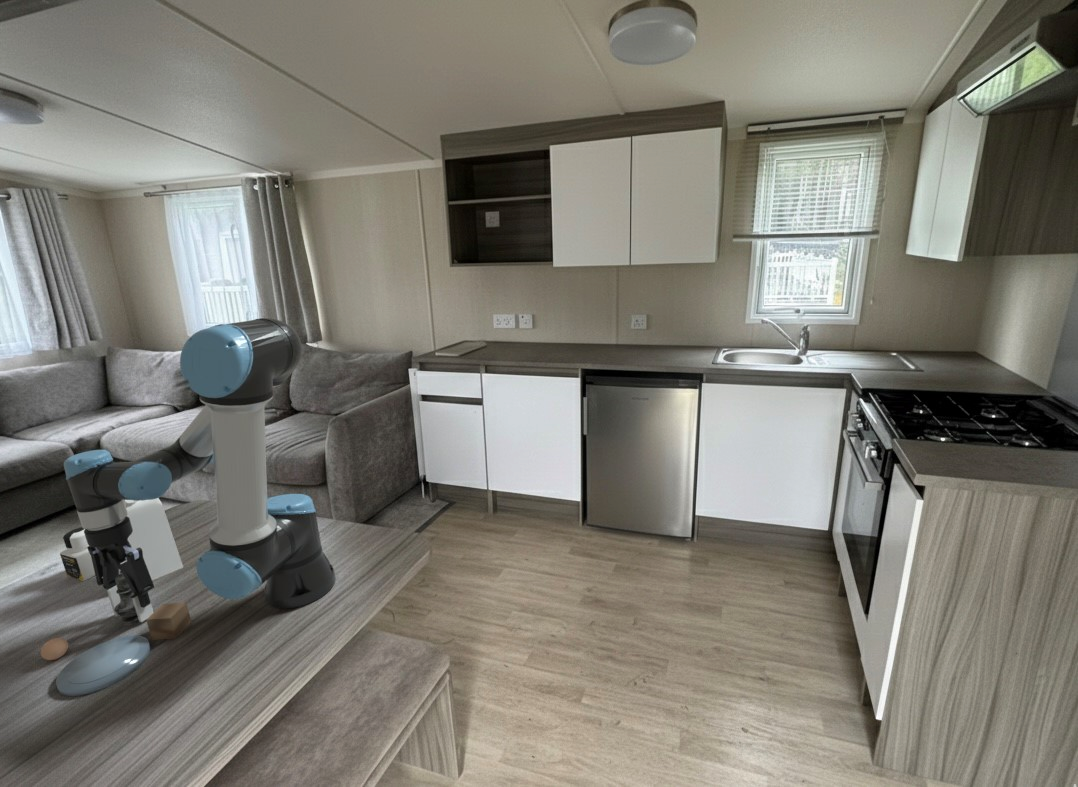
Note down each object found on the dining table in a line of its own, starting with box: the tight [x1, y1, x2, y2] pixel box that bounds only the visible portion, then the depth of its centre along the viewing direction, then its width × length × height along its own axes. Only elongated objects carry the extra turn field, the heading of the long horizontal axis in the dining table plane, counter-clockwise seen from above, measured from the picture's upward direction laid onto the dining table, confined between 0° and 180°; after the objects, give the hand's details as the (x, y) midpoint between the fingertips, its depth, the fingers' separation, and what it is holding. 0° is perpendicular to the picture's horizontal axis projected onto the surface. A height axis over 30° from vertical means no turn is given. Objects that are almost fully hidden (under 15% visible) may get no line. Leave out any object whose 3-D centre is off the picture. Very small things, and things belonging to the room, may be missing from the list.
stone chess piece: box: [113, 571, 140, 626], centre depth 111 cm, size 6×6×12 cm
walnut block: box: [145, 602, 192, 641], centre depth 107 cm, size 5×5×5 cm
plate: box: [55, 634, 151, 697], centre depth 99 cm, size 14×14×1 cm
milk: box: [119, 497, 184, 581], centre depth 128 cm, size 12×12×26 cm
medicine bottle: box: [59, 526, 96, 582], centre depth 131 cm, size 7×7×12 cm
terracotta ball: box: [40, 637, 69, 661], centre depth 101 cm, size 4×4×4 cm
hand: (134, 614), depth 113 cm, fingers open, 7 cm apart
